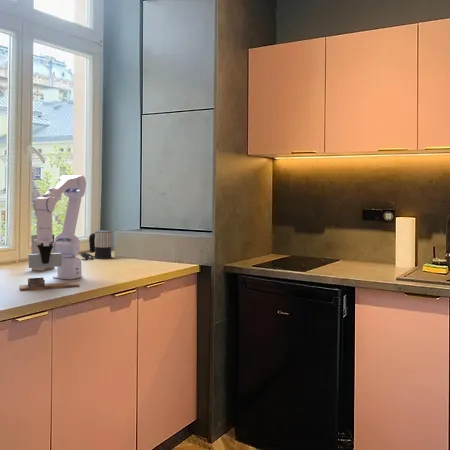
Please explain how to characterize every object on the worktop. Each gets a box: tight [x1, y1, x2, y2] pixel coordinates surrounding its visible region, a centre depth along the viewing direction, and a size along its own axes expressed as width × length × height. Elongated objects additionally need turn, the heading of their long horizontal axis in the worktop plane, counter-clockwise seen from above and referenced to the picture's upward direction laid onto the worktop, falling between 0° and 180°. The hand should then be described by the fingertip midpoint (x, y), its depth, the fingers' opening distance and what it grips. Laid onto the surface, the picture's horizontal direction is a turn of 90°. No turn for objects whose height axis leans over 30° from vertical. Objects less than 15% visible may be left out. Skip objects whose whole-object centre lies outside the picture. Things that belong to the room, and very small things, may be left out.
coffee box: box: [30, 234, 56, 272], centre depth 244 cm, size 9×6×16 cm
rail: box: [27, 253, 62, 269], centre depth 204 cm, size 12×3×5 cm, turn 113°
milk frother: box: [80, 229, 113, 261], centre depth 282 cm, size 14×16×15 cm
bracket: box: [19, 277, 80, 292], centre depth 199 cm, size 21×8×3 cm, turn 113°
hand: (45, 262), depth 204 cm, fingers closed on rail, 3 cm apart
